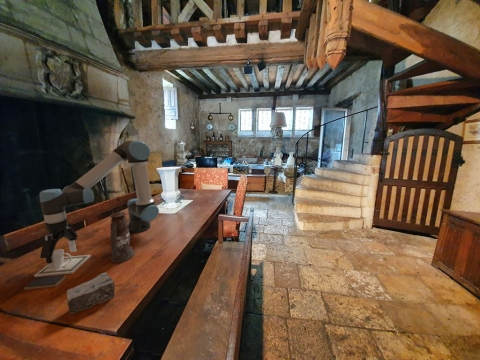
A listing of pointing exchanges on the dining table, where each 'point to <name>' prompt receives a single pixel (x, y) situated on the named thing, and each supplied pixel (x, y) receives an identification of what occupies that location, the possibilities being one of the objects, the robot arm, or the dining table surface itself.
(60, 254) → the cup
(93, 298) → the stone block
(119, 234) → the lantern
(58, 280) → the ink pad
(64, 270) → the board
